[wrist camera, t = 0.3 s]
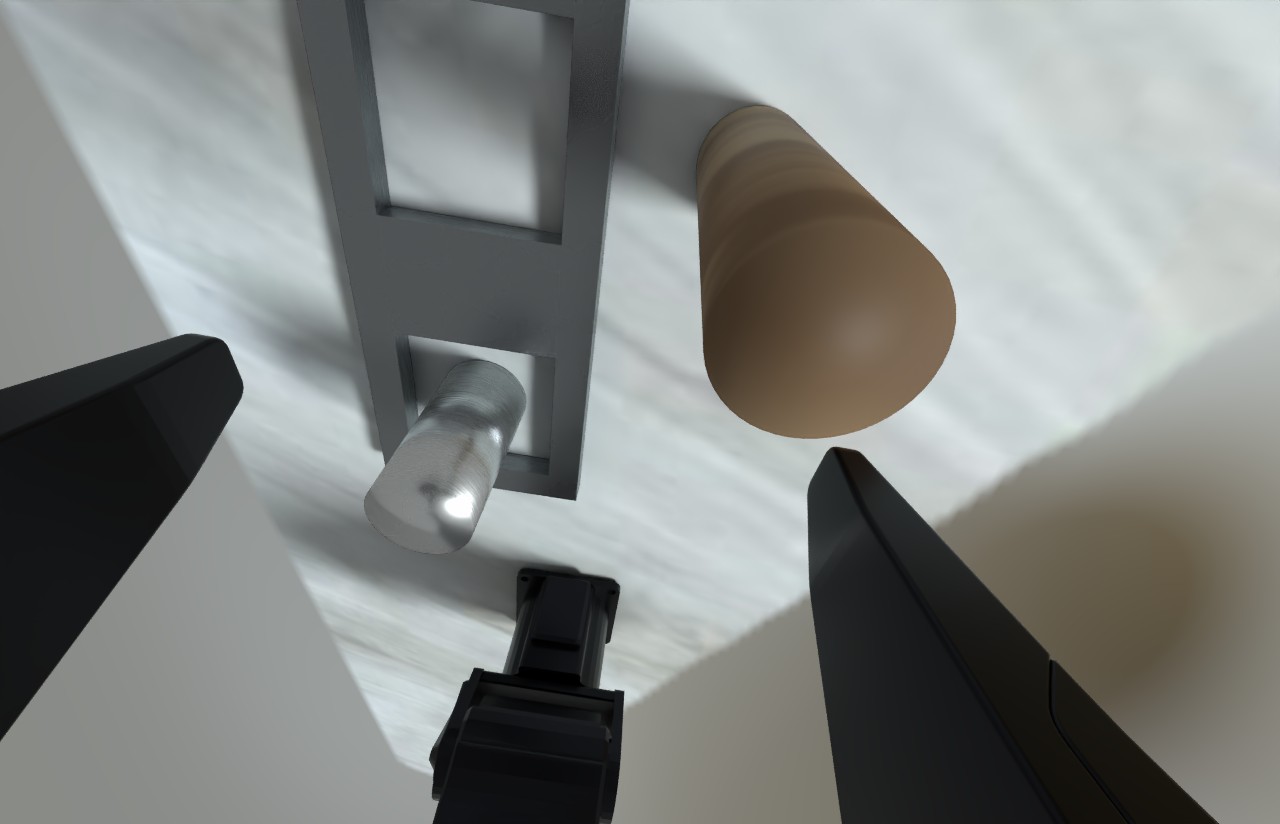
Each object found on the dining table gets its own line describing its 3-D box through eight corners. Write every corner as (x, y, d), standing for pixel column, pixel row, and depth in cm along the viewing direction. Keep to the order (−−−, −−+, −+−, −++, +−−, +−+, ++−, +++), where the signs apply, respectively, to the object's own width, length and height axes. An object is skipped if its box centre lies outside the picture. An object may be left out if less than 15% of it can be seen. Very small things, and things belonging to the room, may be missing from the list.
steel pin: (525, 433, 27) (475, 560, 21) (447, 421, 27) (373, 545, 21) (527, 367, 25) (470, 488, 19) (441, 354, 25) (355, 470, 19)
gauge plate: (579, 484, 29) (576, 500, 28) (396, 456, 29) (386, 471, 28) (633, -34, 16) (629, -38, 15) (302, -94, 16) (277, -100, 15)
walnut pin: (789, 233, 21) (892, 453, 10) (686, 215, 21) (683, 420, 10) (825, 116, 18) (1007, 246, 8) (709, 96, 18) (735, 200, 8)
